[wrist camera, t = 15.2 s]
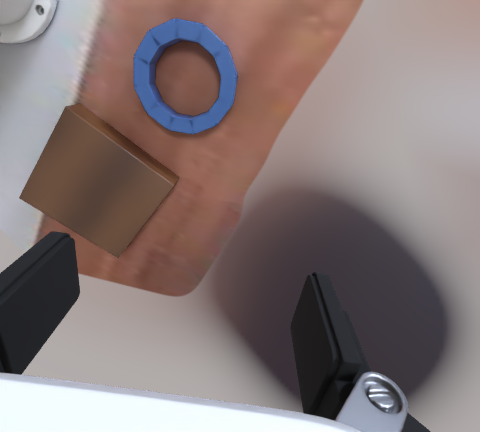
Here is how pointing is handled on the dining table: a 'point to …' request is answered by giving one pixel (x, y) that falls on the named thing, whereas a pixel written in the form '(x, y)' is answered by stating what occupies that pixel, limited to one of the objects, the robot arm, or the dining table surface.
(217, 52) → the ring
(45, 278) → the robot arm
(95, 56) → the dining table surface
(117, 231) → the platform
